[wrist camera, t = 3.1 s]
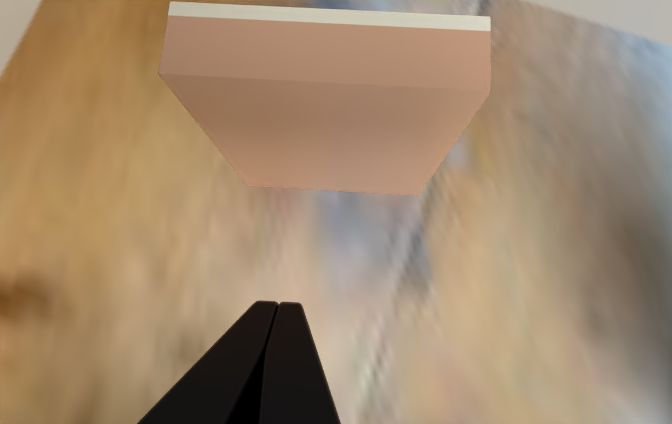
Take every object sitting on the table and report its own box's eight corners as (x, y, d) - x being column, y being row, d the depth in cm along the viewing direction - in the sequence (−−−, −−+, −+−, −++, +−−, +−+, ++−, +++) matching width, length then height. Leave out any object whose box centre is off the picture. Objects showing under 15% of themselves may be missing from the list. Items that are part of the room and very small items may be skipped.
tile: (418, 195, 20) (491, 90, 10) (247, 185, 20) (158, 73, 10) (419, 154, 20) (490, 17, 11) (251, 145, 21) (170, 1, 11)
